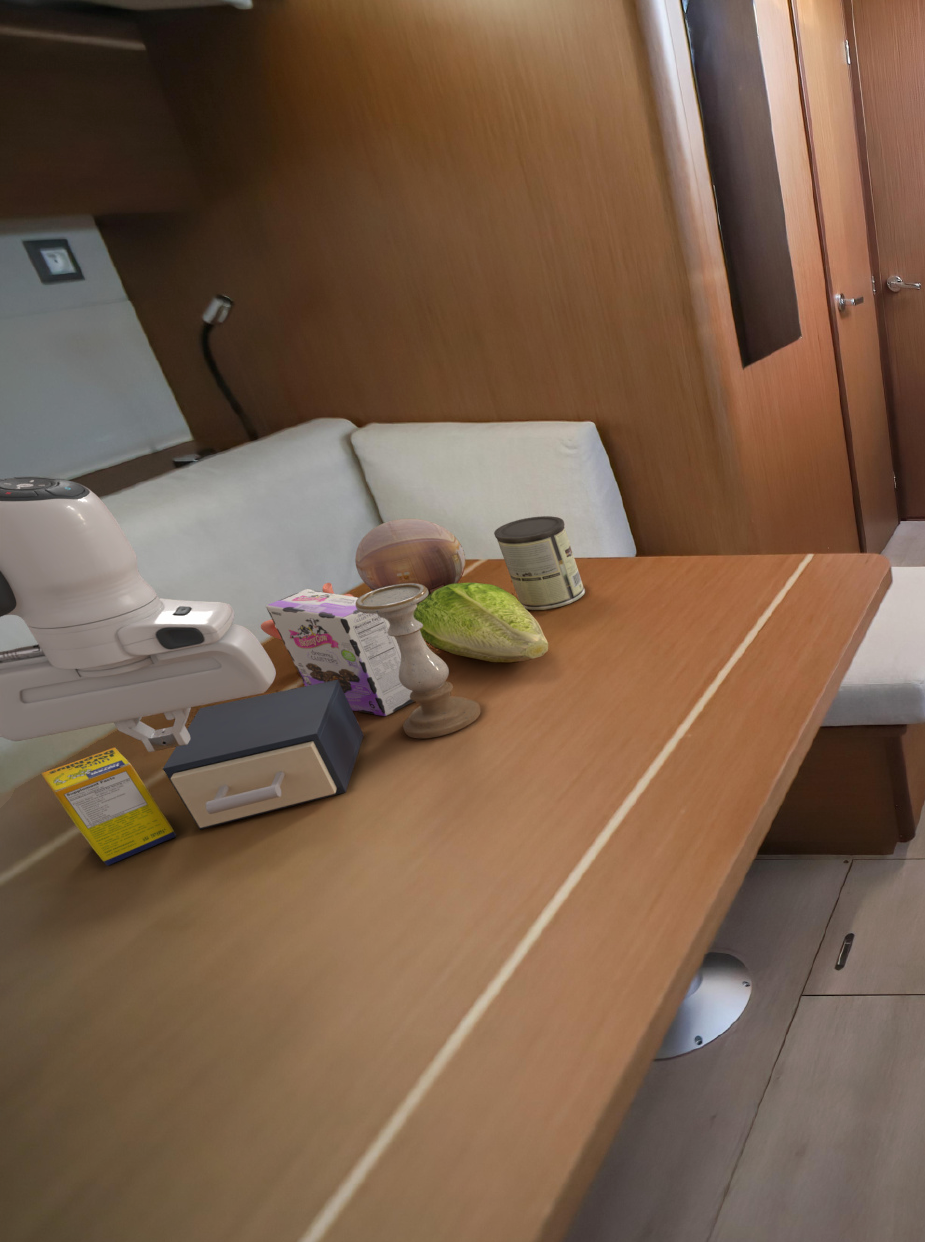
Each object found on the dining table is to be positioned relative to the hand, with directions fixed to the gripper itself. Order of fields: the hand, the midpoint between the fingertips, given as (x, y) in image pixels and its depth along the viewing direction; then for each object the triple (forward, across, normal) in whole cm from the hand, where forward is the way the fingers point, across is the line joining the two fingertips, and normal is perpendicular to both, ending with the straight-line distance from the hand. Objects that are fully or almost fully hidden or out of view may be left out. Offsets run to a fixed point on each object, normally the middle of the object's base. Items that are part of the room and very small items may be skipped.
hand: (170, 745), depth 96 cm
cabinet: (+15, +3, +14) cm, 21 cm away
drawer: (+14, +3, +10) cm, 18 cm away
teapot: (+15, +3, +51) cm, 54 cm away
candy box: (+15, +9, +32) cm, 37 cm away
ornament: (+15, +13, +70) cm, 72 cm away
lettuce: (+15, +24, +40) cm, 49 cm away
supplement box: (+16, -10, +8) cm, 20 cm away
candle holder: (+15, +19, +20) cm, 31 cm away
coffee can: (+15, +32, +58) cm, 68 cm away
